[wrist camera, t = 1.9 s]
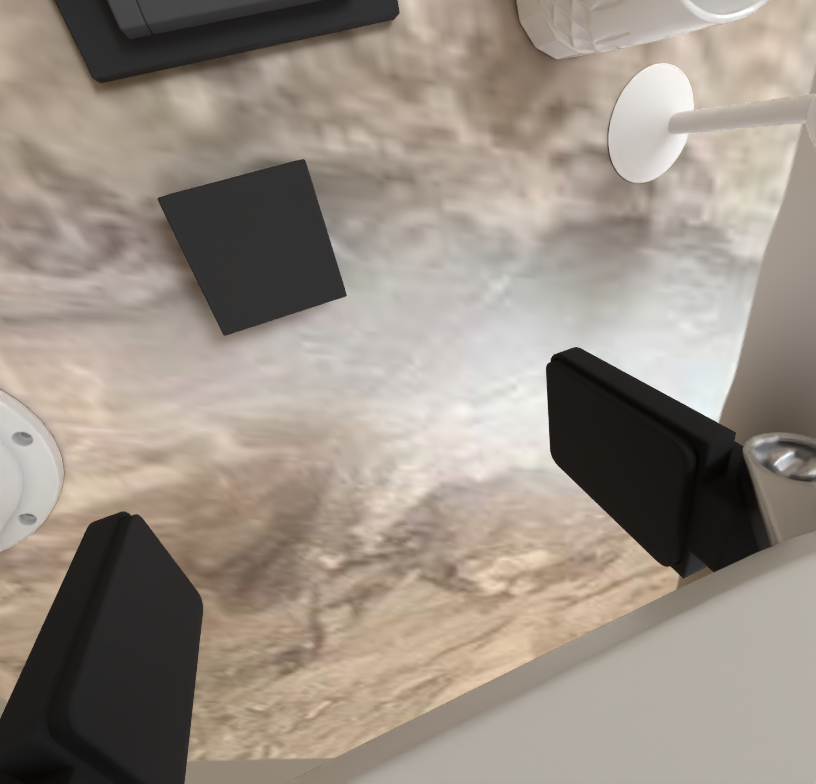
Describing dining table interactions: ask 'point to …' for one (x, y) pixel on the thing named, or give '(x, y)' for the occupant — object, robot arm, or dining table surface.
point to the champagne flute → (683, 120)
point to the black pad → (256, 245)
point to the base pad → (201, 29)
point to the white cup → (620, 22)
